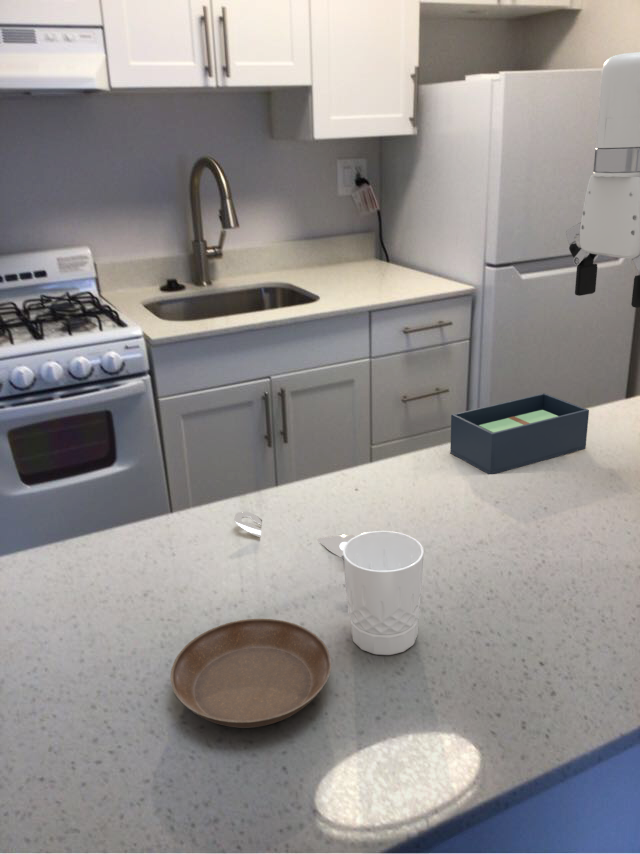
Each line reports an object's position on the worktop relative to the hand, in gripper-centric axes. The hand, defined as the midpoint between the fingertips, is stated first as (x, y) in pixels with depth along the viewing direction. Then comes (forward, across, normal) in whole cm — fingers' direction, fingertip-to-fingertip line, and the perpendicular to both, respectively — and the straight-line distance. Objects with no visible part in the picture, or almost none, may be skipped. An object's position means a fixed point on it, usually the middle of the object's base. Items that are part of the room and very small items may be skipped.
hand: (612, 299), depth 100 cm
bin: (+26, +14, +2) cm, 30 cm away
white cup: (+26, -16, +45) cm, 55 cm away
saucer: (+26, -17, +60) cm, 68 cm away
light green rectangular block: (+26, +14, +2) cm, 29 cm away
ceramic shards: (+26, +5, +45) cm, 52 cm away
